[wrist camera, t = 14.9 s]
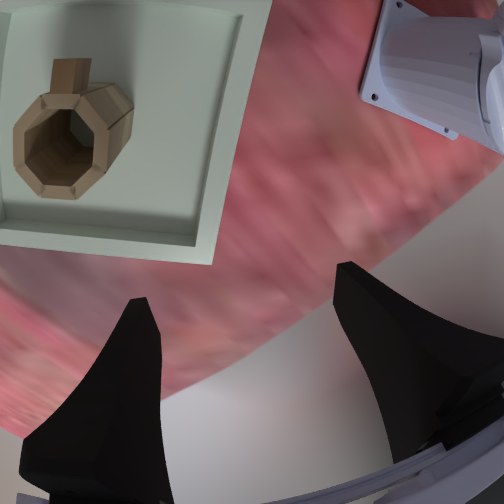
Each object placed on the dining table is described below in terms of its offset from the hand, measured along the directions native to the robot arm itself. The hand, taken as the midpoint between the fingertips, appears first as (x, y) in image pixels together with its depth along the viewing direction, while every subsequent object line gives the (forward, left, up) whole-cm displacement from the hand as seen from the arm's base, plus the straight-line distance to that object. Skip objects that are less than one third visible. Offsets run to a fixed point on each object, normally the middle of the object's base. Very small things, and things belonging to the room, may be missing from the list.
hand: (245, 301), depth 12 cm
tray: (+8, -4, -10) cm, 13 cm away
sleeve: (+8, -4, -9) cm, 13 cm away
